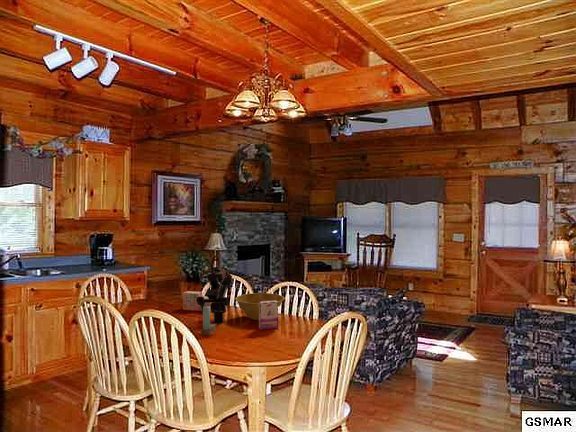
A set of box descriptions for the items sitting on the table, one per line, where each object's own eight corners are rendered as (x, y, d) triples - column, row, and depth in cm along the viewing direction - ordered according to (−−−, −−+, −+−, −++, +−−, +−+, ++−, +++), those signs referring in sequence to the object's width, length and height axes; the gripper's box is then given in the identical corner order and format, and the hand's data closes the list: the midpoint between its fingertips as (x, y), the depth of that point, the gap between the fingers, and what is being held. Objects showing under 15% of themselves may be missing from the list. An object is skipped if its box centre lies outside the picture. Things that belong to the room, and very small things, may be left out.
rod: (206, 327, 266) (206, 305, 265) (211, 329, 264) (211, 306, 263) (201, 329, 262) (201, 307, 262) (206, 330, 260) (206, 307, 260)
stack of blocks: (213, 309, 324) (213, 292, 323) (209, 311, 318) (209, 294, 317) (187, 307, 330) (187, 290, 330) (182, 309, 324) (182, 292, 324)
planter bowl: (262, 327, 279) (262, 305, 279) (225, 318, 298) (225, 298, 298) (293, 316, 305) (294, 296, 304) (257, 309, 324) (257, 290, 324)
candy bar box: (276, 326, 280) (276, 300, 280) (278, 328, 276) (278, 301, 275) (258, 327, 277) (258, 301, 277) (260, 330, 273) (260, 302, 272)
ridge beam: (208, 328, 275) (208, 323, 275) (216, 328, 275) (216, 324, 274) (201, 335, 261) (201, 330, 261) (209, 335, 261) (209, 330, 261)
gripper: (197, 283, 276) (191, 305, 265) (227, 283, 274) (223, 306, 263) (200, 293, 284) (195, 315, 273) (230, 294, 282) (226, 316, 271)
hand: (209, 313), depth 270 cm, fingers open, 9 cm apart
